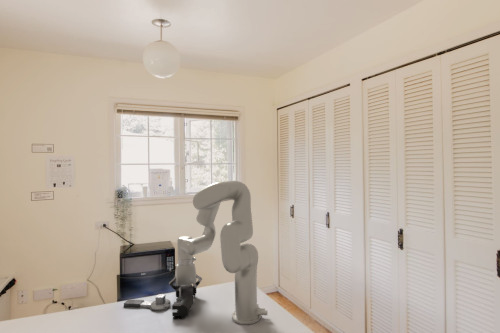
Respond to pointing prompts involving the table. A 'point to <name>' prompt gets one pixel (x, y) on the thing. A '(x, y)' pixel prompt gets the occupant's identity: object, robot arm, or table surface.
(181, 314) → the end cap
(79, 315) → the table surface
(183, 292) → the matte grey cube
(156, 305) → the ratchet
